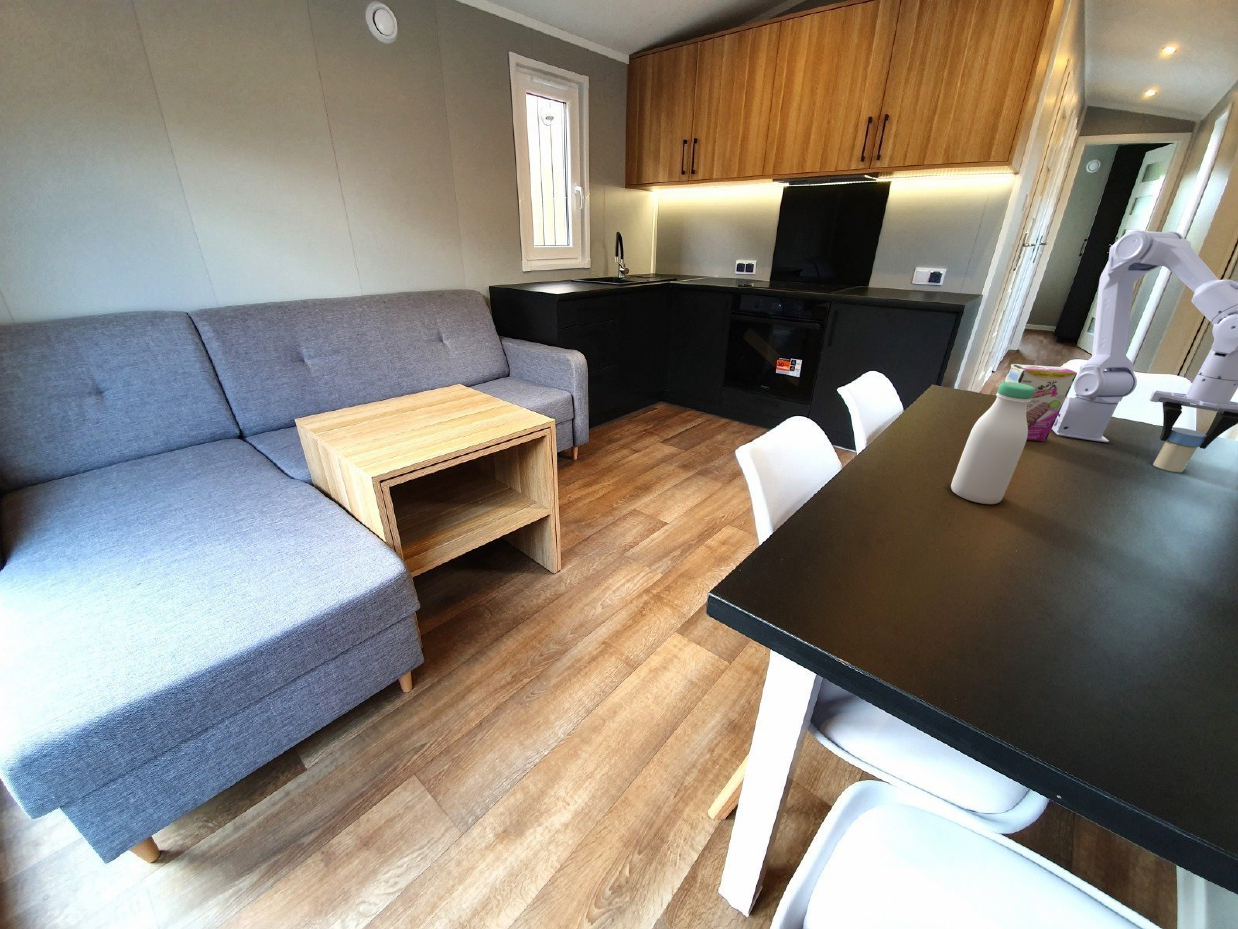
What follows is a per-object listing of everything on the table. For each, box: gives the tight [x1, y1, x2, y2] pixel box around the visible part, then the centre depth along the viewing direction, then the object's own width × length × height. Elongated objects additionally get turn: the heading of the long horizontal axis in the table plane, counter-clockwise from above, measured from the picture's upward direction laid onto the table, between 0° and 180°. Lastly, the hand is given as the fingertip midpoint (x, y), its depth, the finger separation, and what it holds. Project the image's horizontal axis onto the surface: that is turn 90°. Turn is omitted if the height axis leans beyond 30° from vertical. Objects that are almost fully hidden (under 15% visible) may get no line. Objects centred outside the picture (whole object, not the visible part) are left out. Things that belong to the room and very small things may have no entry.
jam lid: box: [1167, 426, 1207, 448], centre depth 97 cm, size 5×5×2 cm
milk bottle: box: [950, 381, 1035, 505], centre depth 82 cm, size 8×8×20 cm
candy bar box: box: [1004, 363, 1078, 442], centre depth 110 cm, size 11×5×16 cm, turn 84°
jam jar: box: [1152, 440, 1198, 473], centre depth 99 cm, size 4×4×8 cm
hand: (1181, 443), depth 98 cm, fingers closed on jam lid, 5 cm apart
